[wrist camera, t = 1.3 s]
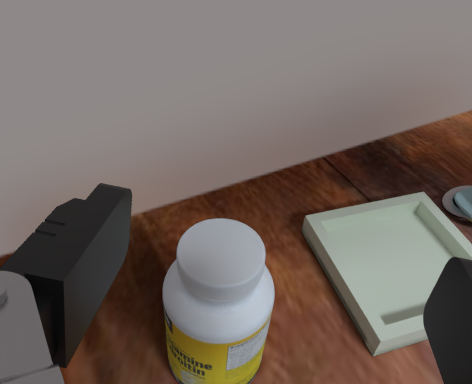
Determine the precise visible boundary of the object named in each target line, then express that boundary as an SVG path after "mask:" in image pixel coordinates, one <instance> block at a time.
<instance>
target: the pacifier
mask: <svg viewBox="0 0 472 384" xmlns="http://www.w3.org/2000/svg"><path fill="white" fill-rule="evenodd" d="M453 198H454V200H455V202H456V204H457V205H458V206H459V207H460V209H459V208H458V207H456V206H455V205H454V204H453V201H452V200H453ZM442 203H443V206H444V207H445V209H446V210H447V211H449V212H450V213H452V214H454V215H456V216H459V217H463V218H466V219H467V220H469V221H470V222H472V186H460V187H456V188H453V189H451V190H449V191H448V192H447V193H445V195H444V196H443V199H442Z"/></svg>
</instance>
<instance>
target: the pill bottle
mask: <svg viewBox="0 0 472 384" xmlns="http://www.w3.org/2000/svg"><path fill="white" fill-rule="evenodd" d="M273 304H274V284H273V280H272V277H271V274H270V272H269V270H268V269H267V267H266V266H265V247H264V244H263V242H262V240H261V238H260V237H259V235H258V234H257V233H256V232H255V231H254V230H253V229H252V228H250V227H249V226H247V225H245V224H243V223H241V222H239V221H236V220H231V219H223V218H220V219H219V218H218V219H209V220H205V221H202V222H199V223H197V224H195V225H193V226H192V227H190V228H189V229H188V230H187V231H186V232H185V233H184V234H183V235H182V237H181V239H180V241H179V243H178V246H177V259H176V260H175V261H174V262H173V263H172V265H171V266H170V268H169V270H168V272H167V274H166V276H165V279H164V283H163V307H164V316H165V327H166V339H167V349H168V360H169V364H170V368H171V370H172V373H173V375H174V376H175V378H176V380H177V381H178V382H179V383H180V384H250V382H251V381H252V380H253V379H254V377H255V375H256V373H257V371H258V369H259V366H260V363H261V359H262V354H263V349H264V344H265V340H266V336H267V331H268V327H269V322H270V318H271V313H272V309H273Z"/></svg>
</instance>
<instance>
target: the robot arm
mask: <svg viewBox="0 0 472 384" xmlns="http://www.w3.org/2000/svg"><path fill="white" fill-rule="evenodd" d="M131 202H132V192H131V190H130V189H127V188H122V187H117V186H113V185H108V184H103V183H100V184H99V185H98V186H97V187H96V188H95V189H94V190H93V192H92V193H91V194H90V195H89V196H88V198H87V199H86V200H82V199H76V198H74V199H72V200H70V201H68V202H66V203H64V204H62V205H60V206H58V207H56V208H55V209H54V211H52V213H51V214H50V215H49V216H48V217H47V218H46V219H45V222H42V223H41V224H40V225H39V227H38V228H37V229H36V230H35V233H32V234H31V235H30V236H29V237H28V238H27V240H26V241H25V242H24V243H23V244H22V245H21V246H20V247H19V248H18V249H17V250H16V251H15V252H14V254H13V255H12V256H11V257H10V258H9V259H8V260H7V261H6V262H5V263H4V264H3V265H2V266H1V268H0V384H64V380H63V377H62V374H61V371H60V368H59V367H63V368H67V366H68V364H69V362H70V360H71V358H72V357H73V355H74V353H75V351H76V349H77V347H78V345H79V344H80V342H81V340H82V338H83V336H84V334H85V333H86V331H87V329H88V327H89V325H90V323H91V322H92V320H93V318H94V316H95V314H96V312H97V311H98V309H99V307H100V305H101V303H102V301H103V299H104V298H105V296H106V294H107V292H108V290H109V288H110V287H111V285H112V283H113V281H114V279H115V277H116V276H117V274H118V272H119V270H120V268H121V266H122V264H123V262H124V260H125V257H126V254H127V250H128V245H129V236H130V220H131V205H132V203H131ZM423 324H424V328H425V331H426V334H427V337H428V340H429V343H430V345H431V348H432V351H433V354H434V357H435V359H436V362H437V365H438V368H439V371H440V374H441V376H442V379H443V382H444V384H472V260H469V259H464V258H459V257H452V258H450V259H449V260H448V262H447V263H446V265H445V267H444V269H443V271H442V273H441V274H440V276H439V278H438V280H437V282H436V284H435V286H434V288H433V290H432V292H431V294H430V296H429V298H428V300H427V302H426V304H425V307H424V313H423Z"/></svg>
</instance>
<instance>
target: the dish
mask: <svg viewBox="0 0 472 384" xmlns="http://www.w3.org/2000/svg"><path fill="white" fill-rule="evenodd" d="M302 233H303V235H304V237H305V239H306V240H307V242H308V244H309V246H310V247H311V249H312V251H313V253H314V254H315V256H316V258H317V260H318V261H319V263H320V265H321V267H322V268H323V270H324V272H325V274H326V275H327V277H328V279H329V281H330V282H331V284H332V286H333V288H334V289H335V291H336V293H337V295H338V296H339V298H340V300H341V302H342V304H343V305H344V307H345V309H346V311H347V312H348V314H349V316H350V318H351V319H352V321H353V323H354V325H355V326H356V328H357V330H358V332H359V333H360V335H361V337H362V339H363V340H364V342H365V344H366V346H367V347H368V349H369V351H370V353H371V354H372V356H375V355H379V354H382V353H385V352H388V351H392V350H395V349H398V348H401V347H405V346H408V345H411V344H414V343H418V342H421V341H424V340H427V339H428V337H427V334H426V331H425V328H424V324H423V313H424V307H425V304H426V302H427V300H428V298H429V296H430V294H431V292H432V290H433V288H434V286H435V284H436V282H437V280H438V278H439V276H440V274H441V273H442V271H443V269H444V267H445V265H446V263H447V262H448V260H449V259H450V258H452V257H459V258H464V259H469V260H472V244H471V243H470V242H469V241H468V240H467V239H466V237H465V236H464V235H463V234H462V233H461V232H460V231H459V230H458V229H457V228H456V227H455V225H454V224H453V223H452V222H451V221H450V220H449V219H448V218H447V217H446V216H445V215H444V213H443V212H442V211H441V210H440V209H439V208H438V207H437V206H436V205H435V204H434V202H433V201H432V200H431V199H430V198H429V197H428V196H427V195H426V194H425V193H424V192H420V193H415V194H410V195H405V196H400V197H395V198H390V199H385V200H380V201H375V202H370V203H365V204H360V205H355V206H350V207H345V208H340V209H335V210H330V211H325V212H321V213H316V214H311V215H306V216H305V219H304V223H303V227H302Z"/></svg>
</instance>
